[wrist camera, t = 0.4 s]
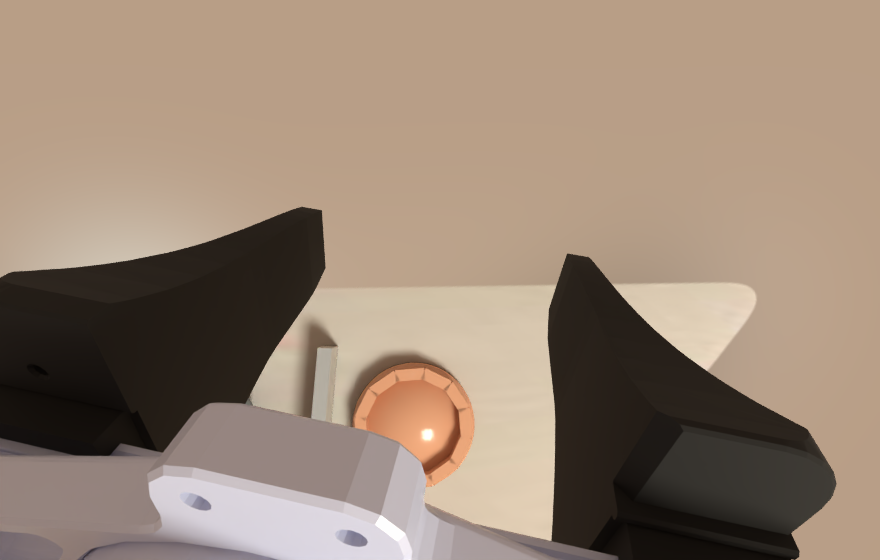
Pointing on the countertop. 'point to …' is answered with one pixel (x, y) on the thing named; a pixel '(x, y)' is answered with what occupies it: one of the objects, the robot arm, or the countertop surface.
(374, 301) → the countertop surface
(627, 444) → the robot arm
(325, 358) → the acrylic wall
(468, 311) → the countertop surface
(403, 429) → the bowl
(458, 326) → the countertop surface
